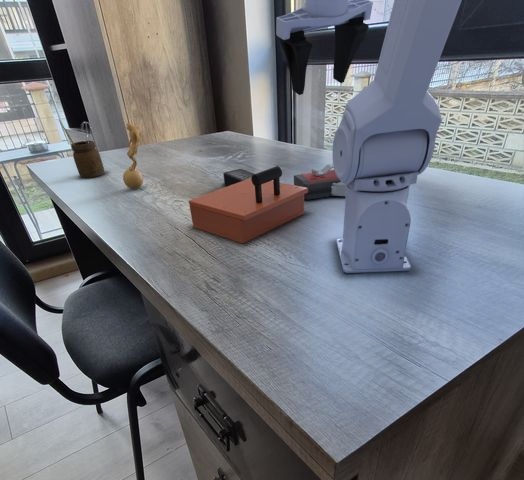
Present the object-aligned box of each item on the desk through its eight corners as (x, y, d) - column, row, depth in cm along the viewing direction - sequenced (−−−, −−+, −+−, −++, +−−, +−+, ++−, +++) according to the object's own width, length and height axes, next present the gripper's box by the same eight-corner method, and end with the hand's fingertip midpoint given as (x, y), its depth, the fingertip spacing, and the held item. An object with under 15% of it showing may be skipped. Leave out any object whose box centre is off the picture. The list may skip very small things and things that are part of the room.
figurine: (123, 185, 84) (105, 122, 76) (150, 180, 86) (136, 118, 78) (129, 195, 78) (110, 128, 70) (158, 190, 80) (143, 123, 72)
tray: (304, 213, 64) (304, 191, 61) (242, 243, 56) (240, 220, 54) (254, 201, 70) (252, 181, 68) (193, 227, 62) (189, 205, 60)
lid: (308, 192, 61) (308, 160, 58) (244, 220, 53) (240, 185, 50) (252, 181, 68) (250, 152, 65) (189, 205, 60) (183, 173, 57)
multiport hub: (242, 179, 82) (241, 168, 80) (270, 191, 74) (269, 178, 73) (223, 184, 80) (222, 172, 78) (250, 196, 72) (249, 183, 71)
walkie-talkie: (302, 205, 67) (406, 189, 70) (302, 178, 64) (410, 162, 67) (286, 191, 73) (382, 176, 77) (286, 166, 70) (385, 152, 74)
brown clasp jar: (107, 175, 92) (89, 117, 84) (79, 180, 90) (59, 121, 83) (103, 170, 96) (87, 114, 89) (77, 174, 94) (58, 118, 87)
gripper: (357, -51, 52) (341, 66, 63) (264, -35, 48) (265, 86, 59) (391, -39, 49) (368, 82, 60) (294, -21, 45) (289, 105, 56)
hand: (318, 86), depth 60 cm, fingers open, 7 cm apart
